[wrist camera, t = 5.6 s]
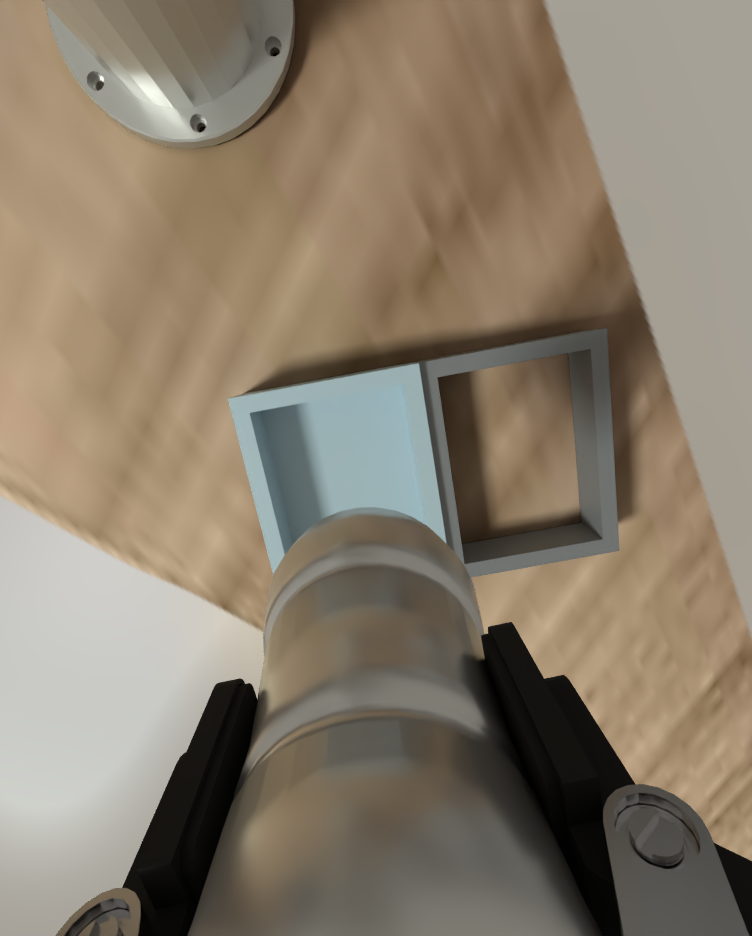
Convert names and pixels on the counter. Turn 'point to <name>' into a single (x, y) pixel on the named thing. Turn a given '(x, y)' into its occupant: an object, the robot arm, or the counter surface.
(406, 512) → the bin
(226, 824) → the plastic bottle
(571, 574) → the counter surface
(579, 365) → the bin
